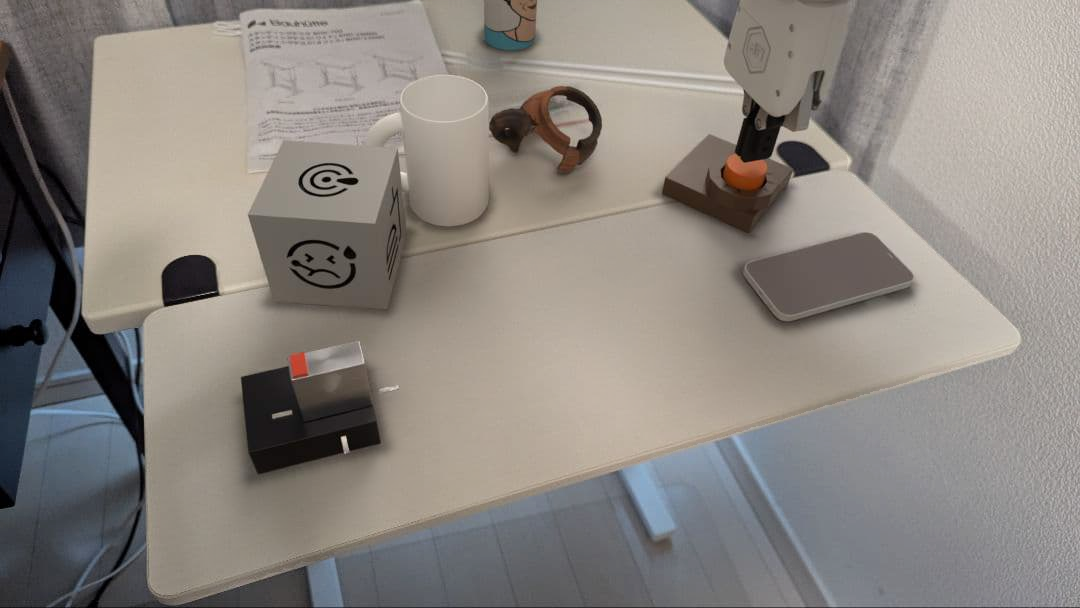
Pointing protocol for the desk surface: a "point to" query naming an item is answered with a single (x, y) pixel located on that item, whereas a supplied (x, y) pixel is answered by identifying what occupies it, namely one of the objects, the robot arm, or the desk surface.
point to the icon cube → (331, 224)
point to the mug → (442, 148)
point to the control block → (723, 185)
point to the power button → (744, 173)
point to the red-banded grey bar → (330, 380)
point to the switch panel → (298, 424)
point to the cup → (510, 23)
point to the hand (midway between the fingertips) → (752, 155)
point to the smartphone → (827, 275)
